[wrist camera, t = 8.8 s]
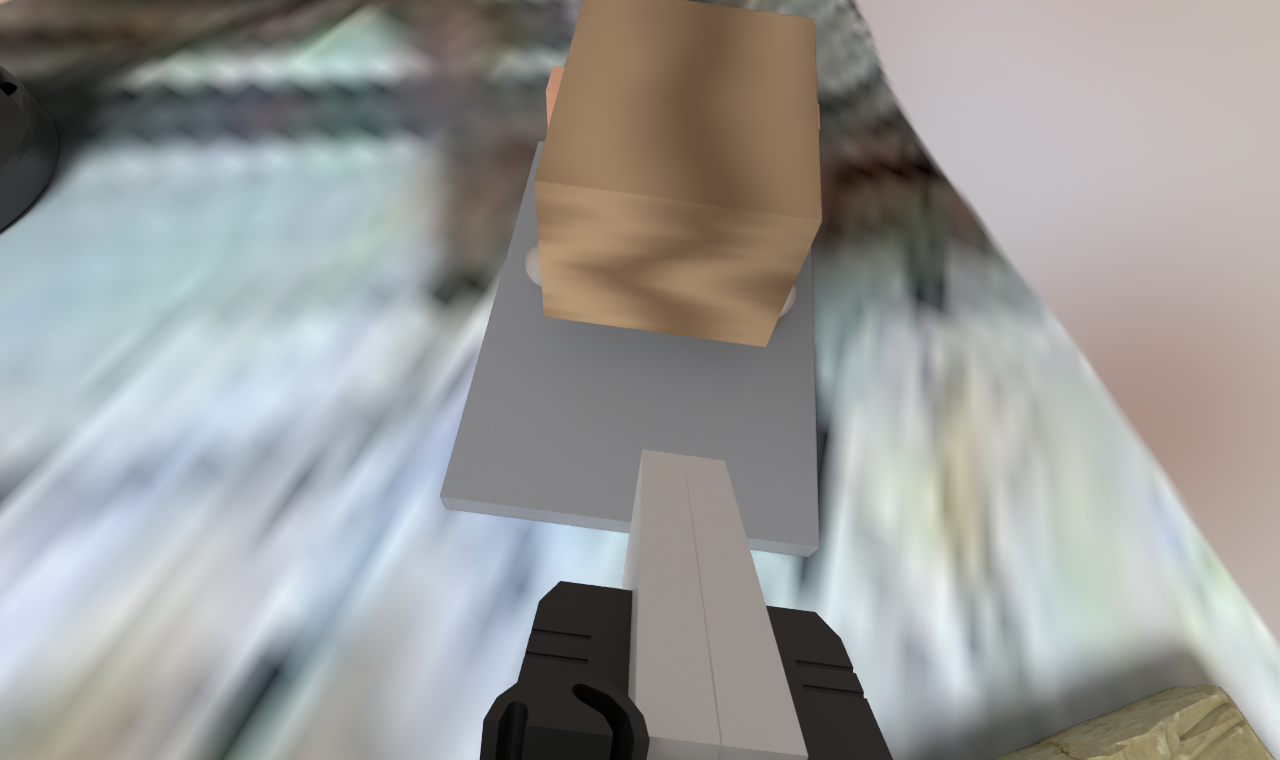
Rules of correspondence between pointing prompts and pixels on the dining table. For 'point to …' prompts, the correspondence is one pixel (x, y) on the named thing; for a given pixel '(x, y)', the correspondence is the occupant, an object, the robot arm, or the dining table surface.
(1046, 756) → the decorative tile
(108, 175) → the dining table surface
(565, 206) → the oak block
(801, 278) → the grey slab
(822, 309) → the dining table surface
